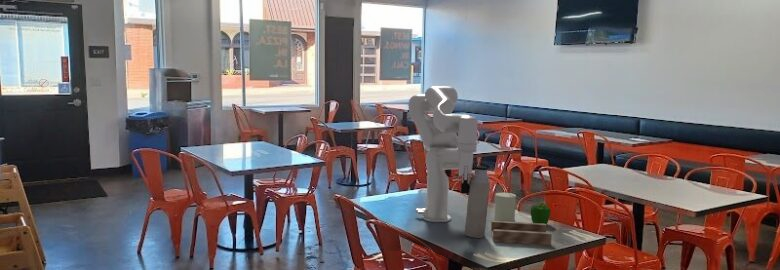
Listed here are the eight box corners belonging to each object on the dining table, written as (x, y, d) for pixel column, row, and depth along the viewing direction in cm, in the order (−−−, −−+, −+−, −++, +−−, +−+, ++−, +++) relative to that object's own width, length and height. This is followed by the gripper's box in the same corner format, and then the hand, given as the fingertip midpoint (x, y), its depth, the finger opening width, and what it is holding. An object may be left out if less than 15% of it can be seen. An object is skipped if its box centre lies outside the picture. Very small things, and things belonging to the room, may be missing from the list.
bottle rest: (493, 241, 231) (493, 230, 230) (490, 231, 246) (491, 220, 245) (550, 245, 229) (551, 234, 228) (545, 234, 243) (545, 223, 243)
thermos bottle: (484, 233, 242) (491, 166, 239) (483, 238, 234) (491, 169, 231) (465, 230, 244) (472, 163, 240) (463, 236, 236) (470, 167, 232)
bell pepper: (527, 221, 263) (528, 199, 262) (545, 221, 264) (546, 199, 263) (533, 226, 255) (535, 203, 254) (552, 226, 256) (553, 203, 255)
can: (510, 224, 258) (511, 197, 257) (490, 220, 263) (491, 194, 261) (517, 219, 266) (519, 193, 264) (498, 216, 271) (499, 190, 269)
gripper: (457, 144, 243) (455, 188, 245) (457, 149, 228) (455, 196, 230) (476, 145, 242) (474, 189, 244) (476, 150, 227) (474, 197, 230)
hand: (464, 192), depth 237 cm, fingers closed
